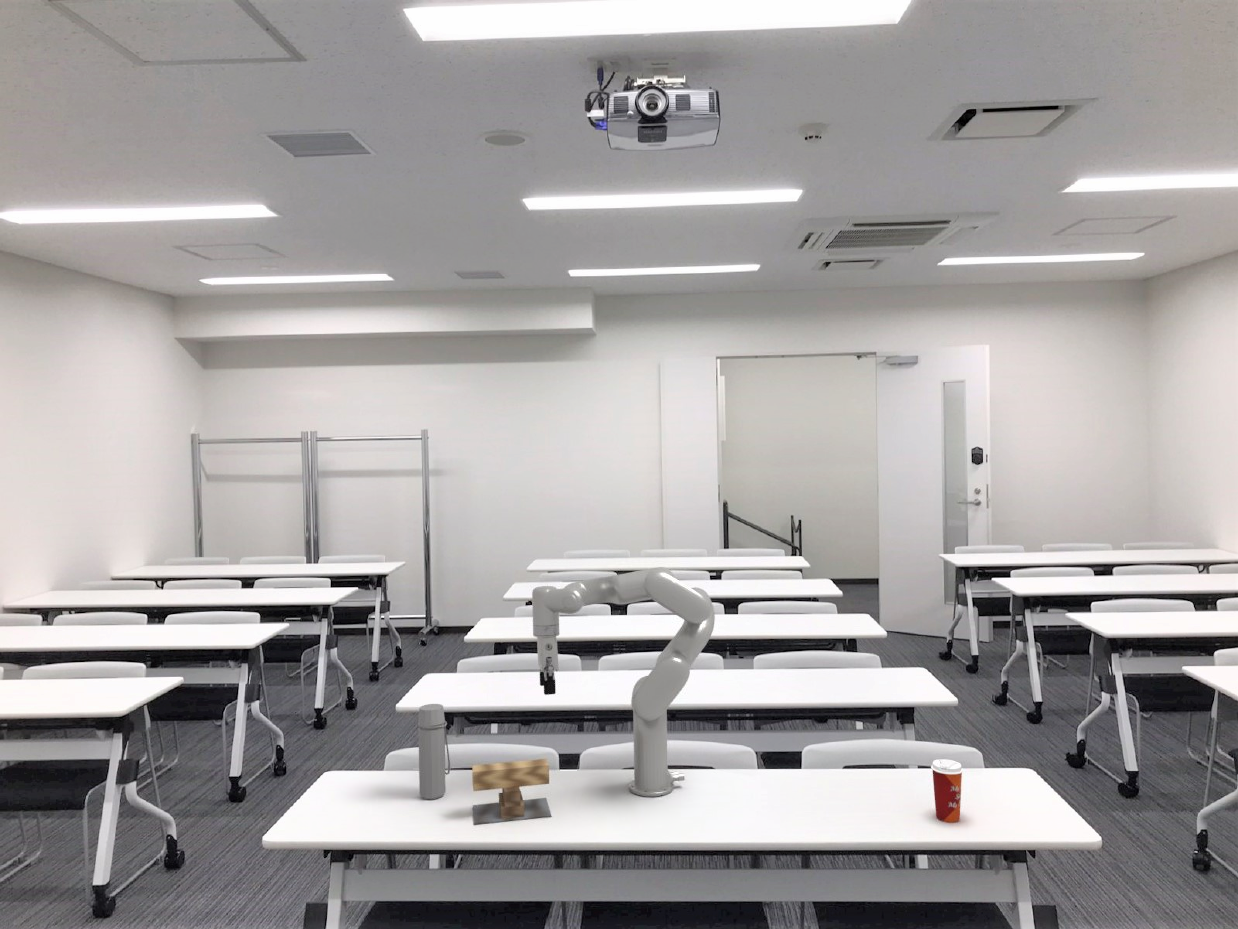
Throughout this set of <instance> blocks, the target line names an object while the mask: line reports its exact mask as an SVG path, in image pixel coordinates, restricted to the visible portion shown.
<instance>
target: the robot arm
mask: <svg viewBox="0 0 1238 929" xmlns="http://www.w3.org/2000/svg"><path fill="white" fill-rule="evenodd" d="M531 593H532V594H531V596H532V599H531V600H532V636H533V637H535V638H536V639H537V640H536V641H537V642H536V644H537V645H536V646H537V662H538V666H539V685H540V686H541V687H543V694H544V696H549V695H555V694H556V693H557V692H556V678H555V677H556V676H555V671H556V672H558V671H559V670H560V669H559V668H560V667H559V655H558V654H559V652H558V640H557V637H558V636H560V614H565V615H566V614H568V615H574V614H577V613H578V612H580V611H581V609H582V608H583V607H587V606H591V605H596V604H597V605H598V604H605V603H606V604H607V603H608V604H609V603H610V604H611V603H612V604H615V605H627V604H633V603H638V602H642V601H648V600H650V601H651V600H653V601H654V602H656V603H657V604H658V605H659V606H661V607H663V608H665V609H666V610H668V611H669V612H671V613H673V614H674V615H676V616H678V617H679V618H681V619H682V620H683V623H682V625H681V626H680V628H679V629H678V631H676V634H675V635H674V636H673V638H672V639H671V640H670V641H669V643H668V644H667V645H666V646H665V648H664V649H663V651H661V652H660V654H659V655H658V656H657V659H656V661H655V665H654V667H653V668H652V669H651V671H650V673H648V675H645V676H642V677H640V678H639V679H637V681H636V683H635V684H634V686H633V688H632V693H631V700H630V701H631V702H630V704H631V709H632V711H633V712H632V715H633V717H632V718H633V721H632V723H633V725H632V726H633V770H634V771H633V773H634V774H633V776H634V777H633V778H634V779H632V780H631V781H630V782H629V784H628V789H629V791H630V792H631V793H632V794H635V795H637V796H641V797H650V798H651V797H660V796H661V795H662V796H665V795H668V794H669V793H671V792H672V791H673V790H674V782H676V781H677V782H682V781H685V774H684V773H678V771H671V772H670V771H669V769H668V768H669V767H668V766H669V765H668V763H669V762H668V717H667V716H668V714H667V712H668V711H667V709H668V708H669V706H670V705H671V704H672V703H673V701H674V700H675V699H676V698H677V696H678V695H679V694H680V692H681V691H682V690H683V688H684V687H685V686H686V684H687V682H688V680H689V678H690V672H691V667H692V665H693V664H694V662H695V660H696V659H697V658H698V657H699V655H700V654H701V653H702V651H703V649H704V648H705V647H706V646H707V644H708V642H709V640H710V639H711V636H712V634H713V632H714V627H715V620H716V619H715V618H716V616H715V608H714V605H713V602H712V599H711V597H710V595H709V594H708V593H707V591H705V590H704V589H702V588H700V587H690V586H688V585H687V584H685V583H684V582H682V581H680V580H679V579H678V578H676V577H675V575H674V573H673V571H671V570H670V569H668V568H667V567H664V566H663V567H662V566H658V567H653V568H652V567H651V568H647V569H646V568H645V569H642V570H637V571H631V572H625V573H620V574H615V575H609V576H603V577H595V578H590V579H585V580H580V581H574V582H571V583H569V584H567V585H566V586H565V587H563V588H557V587H556V586H554V585H553V586H551V585H545V586H544V585H540V586H537V587H535V588H533V590H532V591H531Z"/></svg>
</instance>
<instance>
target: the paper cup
mask: <svg viewBox="0 0 1238 929" xmlns="http://www.w3.org/2000/svg"><path fill="white" fill-rule="evenodd" d="M930 769H931V770H932V780H933V781H932V782H933V794H934V805H935V815H936V816H935V817H936V819H938V820H939V821H941V822H944V823H951V824H953V823H958V822H960V818H961V799H962V796H961V795H962V777H963V776H962V774H963V772H964V769H963V767H962V764H961V763H960V762H958V761H956V760H953V759H946V758H945V759H944V758H943V759H940V758H939V759H934V760H933V761H932V764H931V766H930Z"/></svg>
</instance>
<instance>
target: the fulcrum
mask: <svg viewBox="0 0 1238 929" xmlns="http://www.w3.org/2000/svg"><path fill="white" fill-rule="evenodd" d="M520 788H521V787H512V788H501V789H502V791H501V792H498V802H489V803H482V804H481V803H480V804H479V803H478V804H472V813H473V814H472V815H473V822H474V826H476V825H477V826H478V825H479V826H480V825H485V824H494V823H495V824H496V823H498V824H499V823H506V822H516V821H525V820H535V819H543V818H552V812H551V808H550V806H549V802H548V800H547V797H541V798H531V799H524V798H523V794H522V791H521V789H520Z"/></svg>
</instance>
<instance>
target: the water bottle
mask: <svg viewBox="0 0 1238 929" xmlns="http://www.w3.org/2000/svg"><path fill="white" fill-rule="evenodd" d="M417 725H418V727H417V728H418V730H417V732H418V773H419V774H418V779H419V782H418V783H419V784H418V785H419V796H420V797H421V798H422V799H424V800H437V799H439V798H442V797H443V796H444V795H445V793H446V789H447V788H446V775H449V774H450V772H451V760H450V752H449V745H448V737H447V728H446V727H447V725H448V722H447V721H446V718H445V711H444V705H443V704H440V703H429V704H424V705H420V707H419V712H418V722H417ZM446 754H447V763H448V767H447V772H446Z"/></svg>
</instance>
